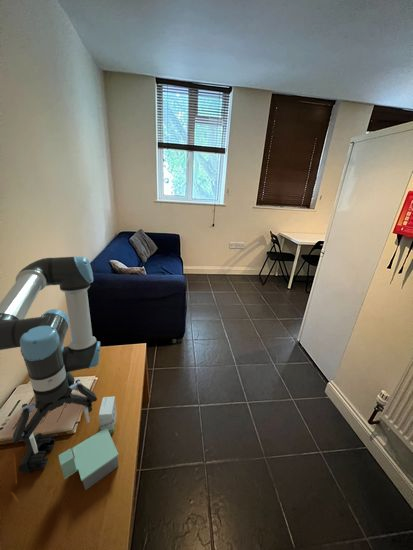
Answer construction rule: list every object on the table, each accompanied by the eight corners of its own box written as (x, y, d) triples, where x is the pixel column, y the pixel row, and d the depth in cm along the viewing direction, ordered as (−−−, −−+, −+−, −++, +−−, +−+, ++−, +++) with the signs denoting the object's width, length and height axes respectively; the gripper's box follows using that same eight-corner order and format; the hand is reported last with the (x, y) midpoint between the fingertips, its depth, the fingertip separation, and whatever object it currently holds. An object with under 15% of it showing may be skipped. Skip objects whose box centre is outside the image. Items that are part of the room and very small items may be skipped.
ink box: (114, 434, 91) (111, 414, 87) (101, 436, 90) (97, 416, 86) (117, 414, 99) (115, 395, 95) (105, 416, 98) (102, 396, 94)
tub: (76, 461, 82) (74, 449, 79) (107, 441, 88) (106, 430, 86) (85, 491, 74) (82, 479, 71) (118, 467, 81) (117, 455, 78)
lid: (59, 459, 77) (55, 444, 74) (107, 430, 87) (105, 416, 84) (67, 493, 69) (63, 478, 66) (118, 457, 79) (117, 442, 76)
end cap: (35, 445, 86) (31, 433, 83) (56, 442, 87) (53, 430, 84) (21, 476, 77) (16, 464, 74) (44, 472, 78) (40, 460, 75)
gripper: (-15, 420, 49) (10, 477, 57) (103, 367, 65) (110, 417, 73) (-15, 397, 54) (8, 451, 62) (95, 353, 70) (101, 401, 78)
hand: (63, 433), depth 67 cm, fingers open, 13 cm apart
